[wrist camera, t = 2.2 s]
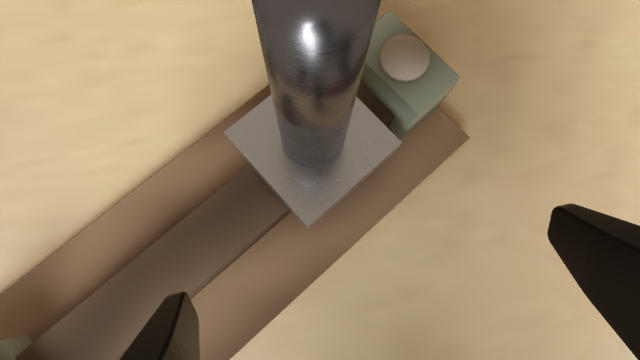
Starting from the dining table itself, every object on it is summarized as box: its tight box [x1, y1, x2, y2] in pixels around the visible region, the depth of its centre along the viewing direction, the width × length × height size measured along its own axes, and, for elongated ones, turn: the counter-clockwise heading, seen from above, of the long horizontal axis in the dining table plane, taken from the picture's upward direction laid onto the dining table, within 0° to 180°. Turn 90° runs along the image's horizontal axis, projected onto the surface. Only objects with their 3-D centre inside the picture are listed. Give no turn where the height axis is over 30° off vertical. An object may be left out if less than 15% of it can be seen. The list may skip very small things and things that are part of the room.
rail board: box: [0, 11, 470, 360], centre depth 19 cm, size 10×27×5 cm, turn 132°
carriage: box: [224, 0, 402, 230], centre depth 14 cm, size 6×6×11 cm
